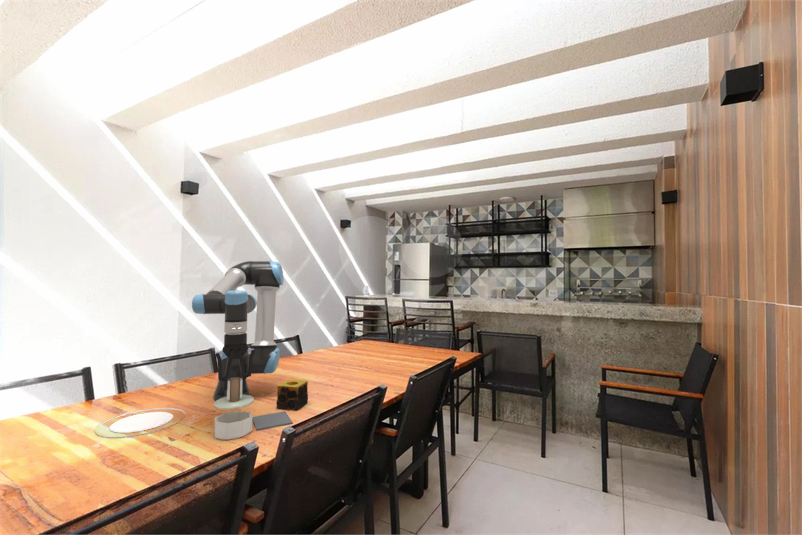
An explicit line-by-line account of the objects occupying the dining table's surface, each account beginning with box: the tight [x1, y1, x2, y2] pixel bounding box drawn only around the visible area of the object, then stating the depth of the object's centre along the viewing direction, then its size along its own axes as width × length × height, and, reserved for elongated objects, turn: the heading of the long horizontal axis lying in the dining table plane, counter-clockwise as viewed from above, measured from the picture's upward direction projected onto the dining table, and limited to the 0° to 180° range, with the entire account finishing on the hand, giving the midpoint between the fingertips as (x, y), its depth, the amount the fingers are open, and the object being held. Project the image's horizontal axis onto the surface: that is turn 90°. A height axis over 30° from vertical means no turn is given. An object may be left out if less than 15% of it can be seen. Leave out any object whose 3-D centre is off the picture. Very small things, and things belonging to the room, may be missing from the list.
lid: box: [213, 377, 255, 411], centre depth 128 cm, size 13×13×9 cm
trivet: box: [252, 410, 294, 432], centre depth 138 cm, size 13×13×1 cm
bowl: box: [213, 410, 253, 441], centre depth 127 cm, size 12×12×6 cm
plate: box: [94, 407, 186, 439], centre depth 136 cm, size 28×28×1 cm
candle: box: [275, 379, 309, 411], centre depth 155 cm, size 10×10×10 cm
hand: (234, 397), depth 128 cm, fingers closed on lid, 3 cm apart
